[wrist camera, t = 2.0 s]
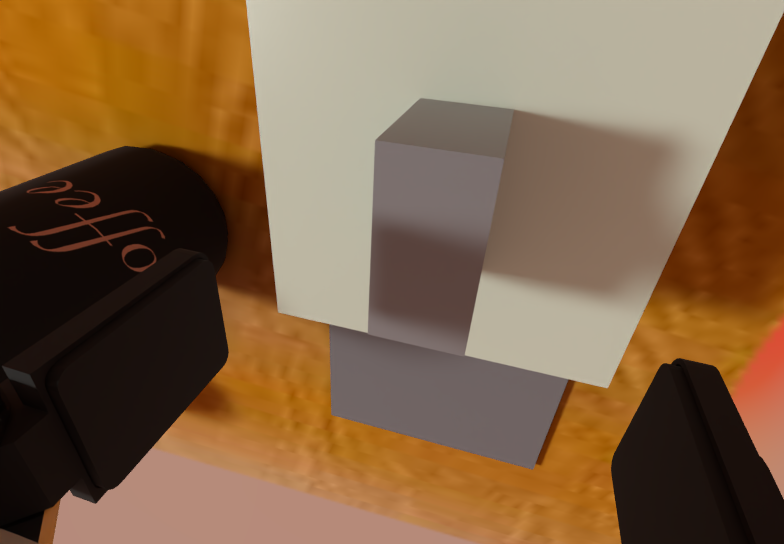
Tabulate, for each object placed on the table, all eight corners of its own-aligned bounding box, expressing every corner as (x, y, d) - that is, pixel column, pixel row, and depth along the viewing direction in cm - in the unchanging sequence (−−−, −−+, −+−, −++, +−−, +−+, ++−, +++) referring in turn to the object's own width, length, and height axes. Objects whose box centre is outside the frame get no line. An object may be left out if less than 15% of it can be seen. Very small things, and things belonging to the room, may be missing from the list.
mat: (331, 239, 30) (327, 243, 29) (599, 290, 26) (601, 296, 26) (334, 409, 39) (331, 414, 38) (533, 463, 36) (533, 469, 35)
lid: (269, -78, 15) (103, -120, 9) (779, -53, 12) (1000, -92, 6) (296, 289, 23) (217, 388, 17) (601, 356, 20) (627, 500, 14)
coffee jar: (263, 257, 32) (33, 482, 17) (167, 289, 37) (-80, 489, 22) (173, 115, 28) (-228, 253, 13) (77, 172, 33) (-299, 320, 18)
